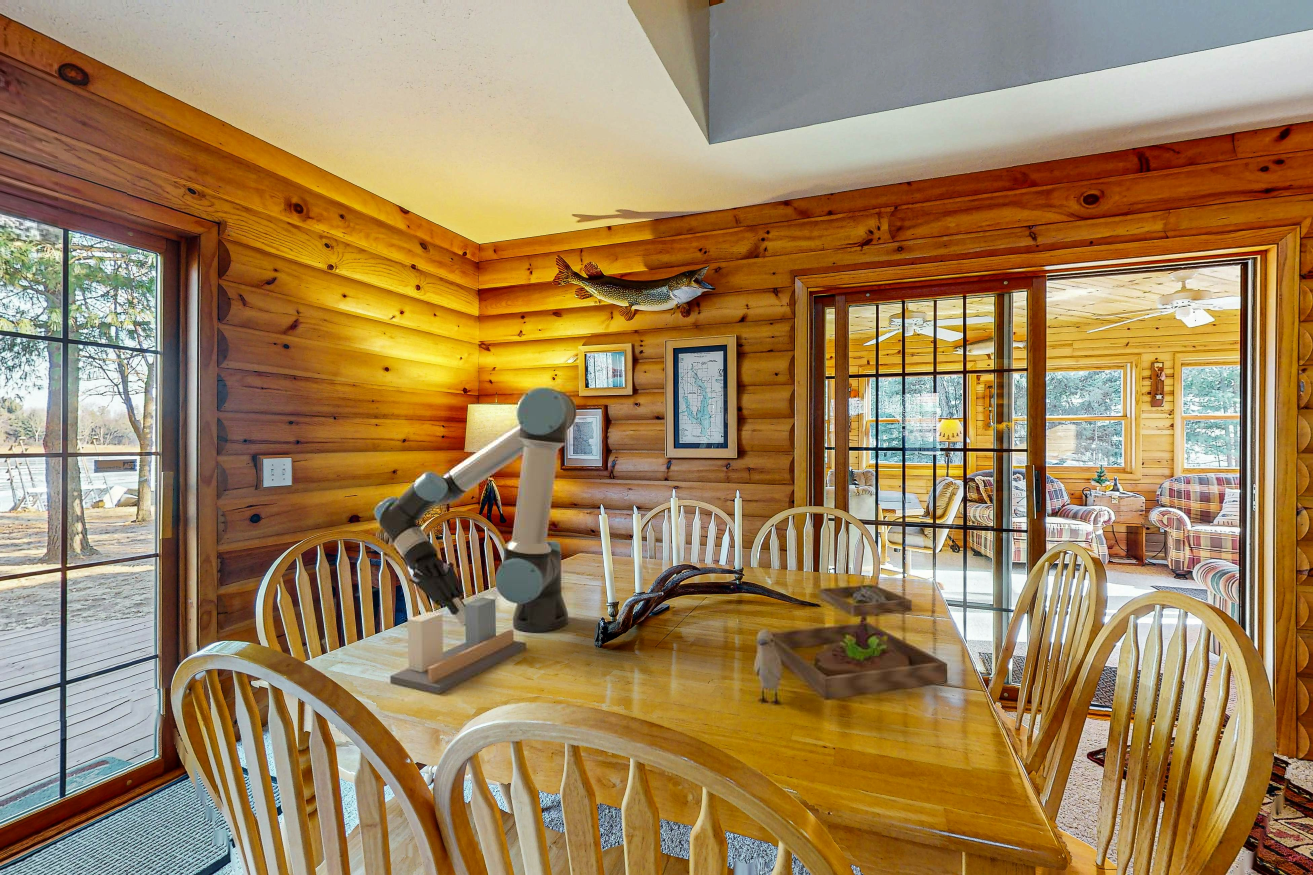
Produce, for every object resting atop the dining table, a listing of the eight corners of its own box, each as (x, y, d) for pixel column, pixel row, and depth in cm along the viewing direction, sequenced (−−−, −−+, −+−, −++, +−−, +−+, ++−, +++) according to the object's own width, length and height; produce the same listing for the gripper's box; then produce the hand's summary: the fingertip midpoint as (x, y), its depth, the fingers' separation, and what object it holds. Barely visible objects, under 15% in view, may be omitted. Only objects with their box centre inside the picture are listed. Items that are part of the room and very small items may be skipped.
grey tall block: (465, 649, 141) (465, 603, 141) (483, 641, 147) (482, 597, 147) (478, 652, 140) (478, 605, 140) (496, 643, 145) (495, 599, 145)
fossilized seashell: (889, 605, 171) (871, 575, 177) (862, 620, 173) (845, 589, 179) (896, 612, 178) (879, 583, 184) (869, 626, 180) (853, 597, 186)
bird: (748, 715, 110) (747, 634, 110) (763, 686, 122) (762, 613, 122) (775, 720, 108) (774, 637, 108) (787, 689, 121) (786, 616, 120)
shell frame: (872, 593, 191) (872, 584, 191) (911, 610, 172) (911, 600, 172) (818, 598, 186) (818, 588, 186) (853, 616, 168) (853, 605, 167)
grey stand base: (390, 682, 127) (390, 661, 127) (482, 640, 152) (481, 623, 152) (439, 694, 121) (438, 672, 121) (526, 648, 146) (525, 630, 146)
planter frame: (867, 637, 150) (867, 622, 150) (947, 682, 123) (947, 663, 123) (764, 649, 143) (764, 632, 143) (825, 699, 116) (825, 679, 116)
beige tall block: (408, 669, 130) (407, 619, 130) (430, 659, 136) (429, 611, 135) (422, 672, 128) (421, 621, 128) (443, 662, 134) (442, 613, 134)
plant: (919, 662, 135) (918, 612, 135) (903, 694, 119) (902, 638, 118) (831, 646, 146) (830, 600, 146) (804, 674, 129) (804, 622, 129)
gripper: (428, 554, 159) (478, 623, 152) (387, 564, 147) (439, 640, 140) (443, 535, 157) (494, 605, 150) (402, 544, 145) (455, 620, 138)
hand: (467, 622), depth 145 cm, fingers closed
